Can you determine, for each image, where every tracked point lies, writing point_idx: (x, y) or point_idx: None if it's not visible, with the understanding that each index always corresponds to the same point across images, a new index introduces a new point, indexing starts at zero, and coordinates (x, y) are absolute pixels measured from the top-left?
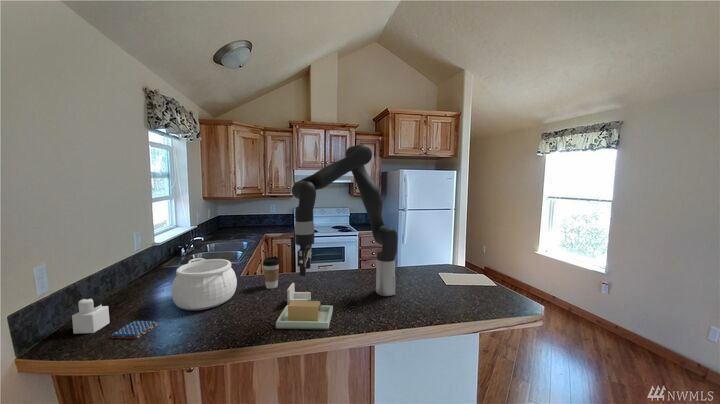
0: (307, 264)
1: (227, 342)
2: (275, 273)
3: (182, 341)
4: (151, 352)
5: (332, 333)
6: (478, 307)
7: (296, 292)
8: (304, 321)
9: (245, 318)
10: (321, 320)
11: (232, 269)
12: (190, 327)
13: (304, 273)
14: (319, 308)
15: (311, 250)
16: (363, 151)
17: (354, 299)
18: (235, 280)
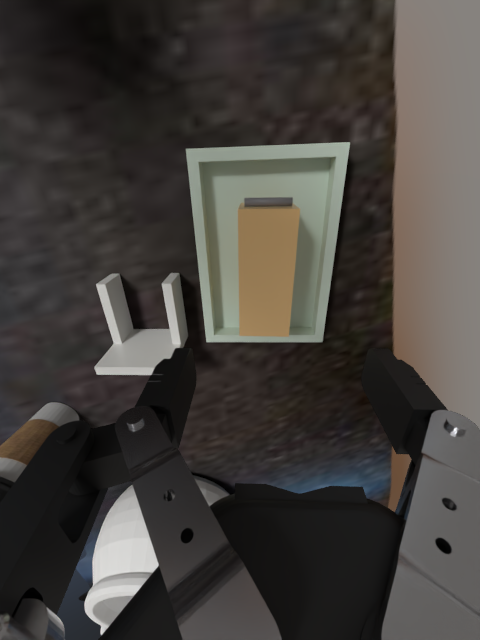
0: (185, 390)
1: (370, 410)
2: (31, 446)
3: (351, 474)
4: (379, 495)
5: (375, 117)
6: None
7: (115, 336)
8: (327, 251)
9: (262, 413)
10: (283, 188)
11: (111, 557)
12: (300, 483)
13: (394, 365)
14: (286, 201)
15: (13, 513)
16: None
17: (38, 31)
18: (140, 515)
